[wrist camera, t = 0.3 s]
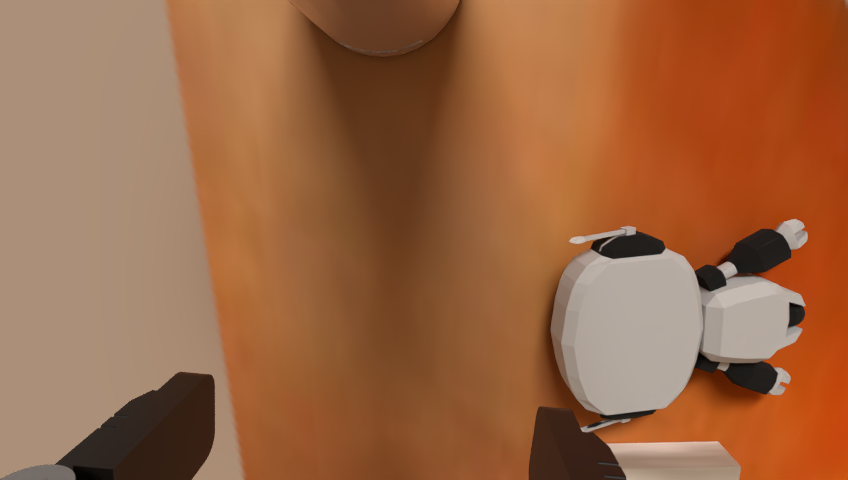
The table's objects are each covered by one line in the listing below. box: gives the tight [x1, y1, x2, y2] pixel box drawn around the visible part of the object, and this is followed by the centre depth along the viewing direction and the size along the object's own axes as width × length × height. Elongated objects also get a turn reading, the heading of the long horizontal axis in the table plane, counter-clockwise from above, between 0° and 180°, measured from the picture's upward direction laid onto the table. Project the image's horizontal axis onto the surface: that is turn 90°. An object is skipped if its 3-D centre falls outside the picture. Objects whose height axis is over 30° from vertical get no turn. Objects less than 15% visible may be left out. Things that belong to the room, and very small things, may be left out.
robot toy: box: [550, 219, 808, 432], centre depth 29 cm, size 12×4×15 cm
